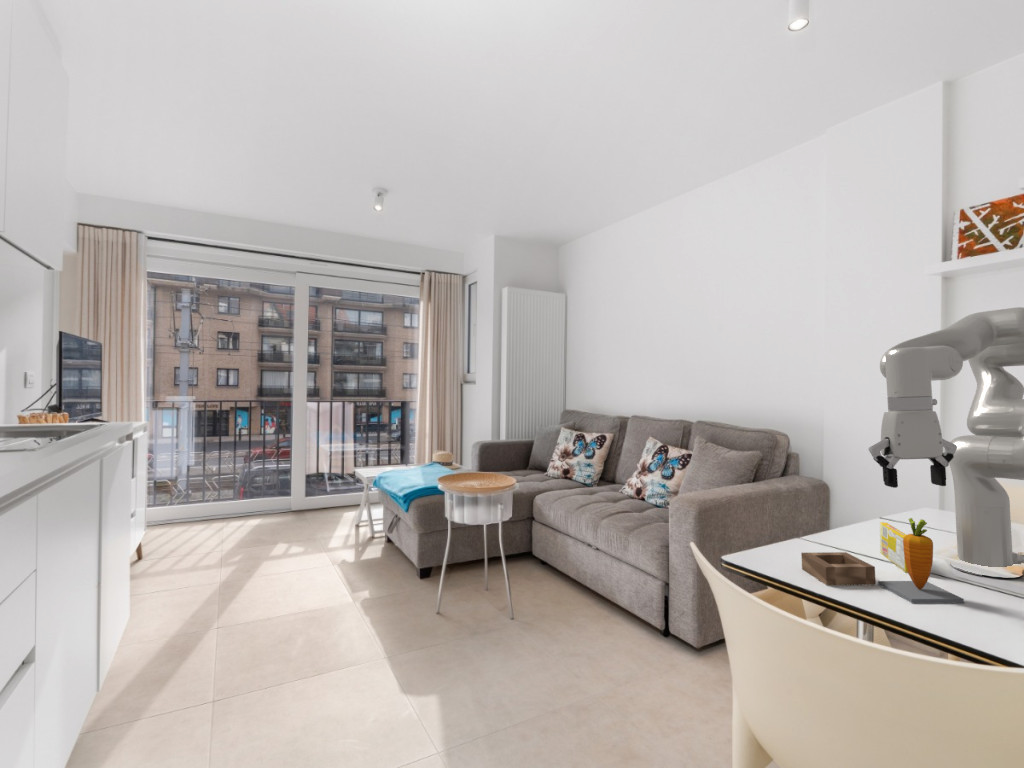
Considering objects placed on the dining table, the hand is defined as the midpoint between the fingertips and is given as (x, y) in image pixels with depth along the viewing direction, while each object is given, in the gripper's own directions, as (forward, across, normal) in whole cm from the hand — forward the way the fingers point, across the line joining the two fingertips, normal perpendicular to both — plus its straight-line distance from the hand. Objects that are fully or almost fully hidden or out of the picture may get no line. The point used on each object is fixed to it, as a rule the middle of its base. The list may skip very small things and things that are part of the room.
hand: (914, 485), depth 107 cm
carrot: (+22, +1, 0) cm, 22 cm away
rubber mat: (+22, +1, 0) cm, 23 cm away
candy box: (+23, -8, -20) cm, 31 cm away
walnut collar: (+22, +12, -10) cm, 27 cm away
